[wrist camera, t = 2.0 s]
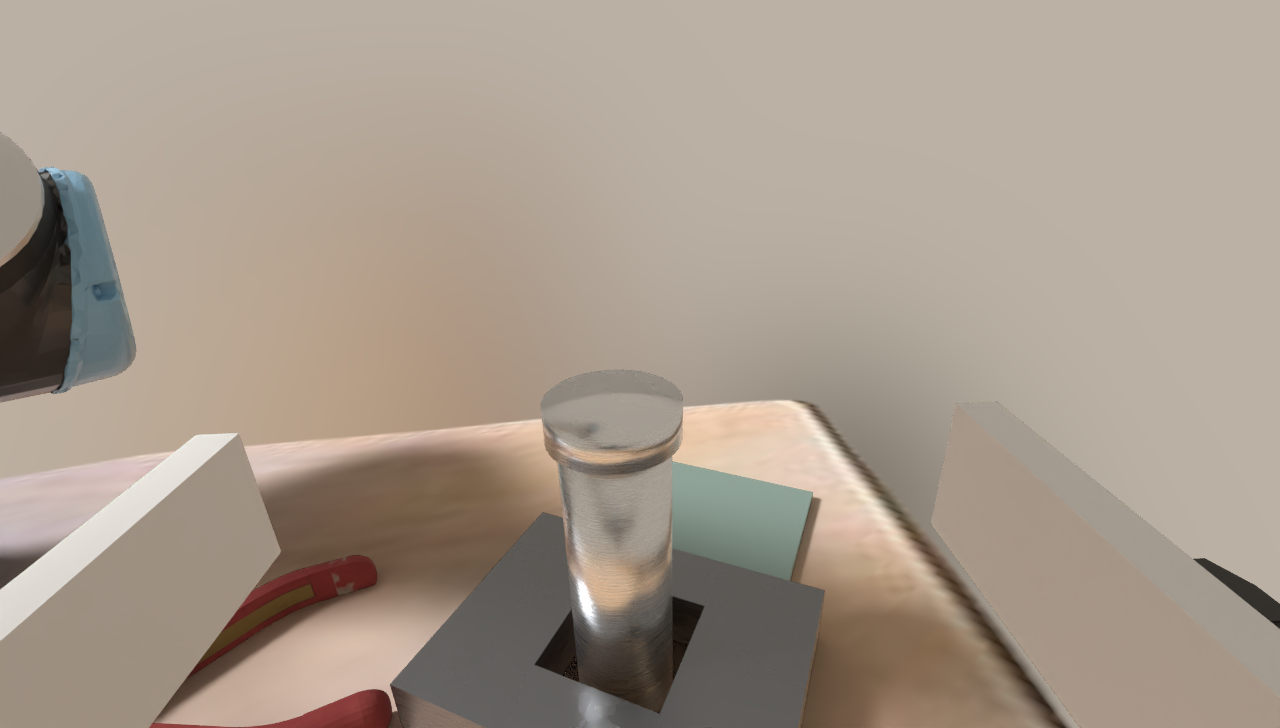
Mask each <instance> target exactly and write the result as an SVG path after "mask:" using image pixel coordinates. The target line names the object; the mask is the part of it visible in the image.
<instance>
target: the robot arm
mask: <svg viewBox="0 0 1280 728" xmlns="http://www.w3.org/2000/svg"><path fill="white" fill-rule="evenodd" d="M135 356H136V344H135V339H134V335H133V330H132V327H131V322H130V319H129V314H128V310H127V306H126V302H125V298H124V294H123V291H122V287H121V283H120V279H119V275H118V272H117V268H116V264H115V261H114V257H113V253H112V249H111V246H110V242H109V239H108V235H107V232H106V228H105V225H104V221H103V217H102V213H101V210H100V207H99V203H98V200H97V196H96V193H95V190H94V187H93V185H92V183H91V181H90V180H89V179H88V177H87V176H85V175H83V174H80V173H79V172H76V171H65V170H59V169H57V168H54V167H51V168H47V167H44V168H41V169H40V170H39V171H37V169H36V168H35V166H34V164H33V163H32V161H31V160H30V159H29V158H28V156H27V155H26V154H25V152H24V151H23V150H22V149H21V148H20V147H19V146H18V145H17V144H16V143H14V142H13V141H12V140H11V139H10V138H8V137H7V136H5V135H4V134H2V133H1V132H0V402H5V401H10V400H15V399H20V398H25V397H30V396H35V395H40V394H45V393H50V392H51V393H53V394H57V393H63V392H66V391H68V390H70V389H71V388H72V387H73V386H77V385H81V384H85V383H89V382H93V381H97V380H101V379H105V378H109V377H112V376H116V375H118V374H120V373H122V372H123V371H125V370H126V369H127V368H128V367H129V366H130V365H131V364H132V362H133V361H134V359H135ZM931 524H932V526H933V527H934V528H935V530H936V531H937V532H938V534H939V535H940V536H941V538H942V539H943V540H944V542H945V543H946V545H947V546H948V547H949V549H950V550H951V552H952V553H953V554H954V556H955V557H956V558H957V560H958V561H959V563H960V564H961V565H962V567H963V568H964V569H965V571H966V572H967V574H968V575H969V576H970V578H971V579H972V580H973V582H974V583H975V584H976V586H977V587H978V589H979V590H980V591H981V593H982V594H983V595H984V597H985V598H986V600H987V601H988V602H989V604H990V605H991V606H992V608H993V609H994V611H995V612H996V613H997V615H998V616H999V617H1000V619H1001V620H1002V622H1003V623H1004V624H1005V626H1006V627H1007V628H1008V630H1009V631H1010V633H1011V634H1012V635H1013V637H1014V638H1015V639H1016V641H1017V642H1018V644H1019V645H1020V646H1021V647H1022V649H1023V650H1024V652H1025V653H1026V655H1027V656H1028V657H1029V659H1030V660H1031V661H1032V663H1033V664H1034V665H1035V667H1036V668H1037V670H1038V671H1039V672H1040V674H1041V675H1042V676H1043V678H1044V679H1045V681H1046V682H1047V683H1048V685H1049V686H1050V687H1051V689H1052V690H1053V692H1054V693H1055V694H1056V696H1057V697H1058V698H1059V700H1060V701H1061V703H1062V704H1063V705H1064V707H1065V708H1066V709H1067V711H1068V712H1069V714H1070V715H1071V716H1072V718H1073V719H1074V720H1075V722H1076V723H1077V725H1078V726H1079V727H1080V728H1280V604H1279V603H1278V602H1277V601H1275V600H1274V599H1273V598H1271V597H1270V596H1269V595H1267V594H1266V593H1265V592H1263V591H1262V590H1261V589H1259V588H1258V587H1257V586H1255V585H1254V584H1252V583H1250V582H1248V581H1246V580H1244V579H1242V578H1241V577H1238V576H1237V575H1235V574H1233V573H1231V572H1229V571H1227V570H1225V569H1224V568H1222V567H1220V566H1218V565H1216V564H1214V563H1212V562H1211V561H1209V560H1207V559H1205V558H1202V559H1201V558H1200V559H1192V558H1190V556H1188V555H1187V554H1186V553H1185V552H1183V551H1182V550H1181V549H1180V548H1178V547H1177V546H1176V545H1175V544H1173V543H1172V542H1171V541H1170V540H1168V539H1167V538H1166V537H1165V536H1164V535H1162V534H1161V533H1160V532H1159V531H1157V530H1156V529H1155V528H1154V527H1152V526H1151V525H1150V524H1148V523H1147V522H1146V521H1145V520H1143V519H1142V518H1141V517H1140V516H1139V515H1137V514H1136V513H1135V512H1134V511H1133V510H1131V509H1130V508H1129V507H1128V506H1126V505H1125V504H1124V503H1123V502H1121V501H1120V500H1119V499H1118V498H1116V497H1115V496H1114V495H1112V494H1111V493H1110V492H1109V491H1108V490H1106V489H1105V488H1104V487H1102V486H1101V485H1100V484H1099V483H1098V482H1096V481H1095V480H1094V479H1093V478H1091V477H1090V476H1089V475H1088V474H1086V473H1085V472H1084V471H1083V470H1082V469H1080V468H1079V467H1078V466H1077V465H1075V464H1074V463H1073V462H1072V461H1070V460H1069V459H1068V458H1067V457H1065V456H1064V455H1063V454H1062V453H1060V452H1059V451H1058V450H1057V449H1055V448H1054V447H1053V446H1052V445H1050V444H1049V443H1048V442H1047V441H1046V440H1044V439H1043V438H1042V437H1041V436H1039V435H1038V434H1037V433H1036V432H1034V431H1033V430H1032V429H1031V428H1029V427H1028V426H1027V425H1026V424H1024V423H1023V422H1022V421H1021V420H1020V419H1018V418H1017V417H1016V416H1015V415H1013V414H1012V413H1011V412H1009V411H1008V410H1007V409H1006V408H1005V407H1003V406H1002V405H1001V404H1000V403H998V402H976V403H975V402H974V403H956V406H955V411H954V415H953V420H952V425H951V430H950V435H949V439H948V444H947V449H946V454H945V458H944V463H943V468H942V472H941V477H940V482H939V487H938V492H937V496H936V501H935V506H934V511H933V515H932V520H931ZM280 553H281V550H280V547H279V544H278V541H277V539H276V536H275V533H274V530H273V527H272V525H271V522H270V519H269V516H268V513H267V511H266V508H265V505H264V502H263V499H262V497H261V494H260V491H259V488H258V485H257V483H256V480H255V477H254V474H253V471H252V469H251V466H250V463H249V460H248V457H247V455H246V452H245V449H244V446H243V443H242V441H241V438H240V435H239V433H231V434H230V433H229V434H207V435H206V434H205V435H196V436H194V437H193V438H192V439H191V440H189V441H188V442H187V443H185V444H184V445H183V446H182V447H181V448H179V449H178V450H177V451H175V452H174V453H173V454H171V455H170V456H169V457H168V458H166V459H165V460H164V461H163V462H161V463H160V464H159V465H157V466H156V467H155V468H154V469H152V470H151V471H150V472H149V473H147V474H146V475H145V476H144V477H142V478H141V479H140V480H138V481H137V482H136V483H135V484H133V485H132V486H131V487H130V488H128V489H127V490H126V491H125V492H123V493H122V494H121V495H119V496H118V497H117V498H116V499H114V500H113V501H112V502H111V503H109V504H108V505H107V506H106V507H104V508H103V509H102V510H100V511H99V512H98V513H97V514H95V515H94V516H93V517H92V518H90V519H89V520H88V521H87V522H85V523H84V524H83V525H81V526H80V527H79V528H78V529H76V530H75V531H74V532H73V533H71V534H70V535H69V536H67V537H66V538H65V539H64V540H62V541H61V542H60V543H59V544H57V545H56V546H55V547H54V548H52V549H51V550H50V551H48V552H47V553H46V554H45V555H43V556H42V557H41V558H40V559H38V560H37V561H36V562H35V563H33V564H32V565H31V566H29V567H28V568H27V569H26V570H24V571H23V572H22V573H21V574H19V575H18V576H17V577H16V578H14V579H13V580H12V581H10V582H9V583H8V584H7V585H5V586H4V587H3V588H2V589H0V728H149V727H150V726H151V724H152V723H153V722H154V720H155V719H156V718H157V716H158V715H159V714H160V712H161V711H162V710H163V708H164V707H165V706H166V704H167V703H168V702H169V700H170V699H171V698H172V696H173V695H174V694H175V692H176V691H177V690H178V688H179V687H180V686H181V684H182V683H183V682H184V680H185V679H186V678H187V676H188V675H189V674H190V672H191V671H192V670H193V669H194V667H195V666H196V665H197V663H198V662H199V661H200V659H201V658H202V657H203V655H204V654H205V653H206V651H207V650H208V649H209V647H210V646H211V645H212V643H213V642H214V641H215V639H216V638H217V637H218V635H219V634H220V633H221V631H222V630H223V629H224V627H225V626H226V625H227V623H228V622H229V621H230V619H231V618H232V617H233V615H234V614H235V613H236V611H237V610H238V609H239V607H240V606H241V605H242V603H243V602H244V601H245V599H246V598H247V597H248V595H249V594H250V593H251V591H252V590H253V589H254V587H255V586H256V585H257V583H258V582H259V581H260V579H261V578H262V577H263V575H264V574H265V573H266V571H267V570H268V569H269V568H270V566H271V565H272V564H273V562H274V561H275V560H276V558H277V557H278V556H279V554H280Z"/></svg>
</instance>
